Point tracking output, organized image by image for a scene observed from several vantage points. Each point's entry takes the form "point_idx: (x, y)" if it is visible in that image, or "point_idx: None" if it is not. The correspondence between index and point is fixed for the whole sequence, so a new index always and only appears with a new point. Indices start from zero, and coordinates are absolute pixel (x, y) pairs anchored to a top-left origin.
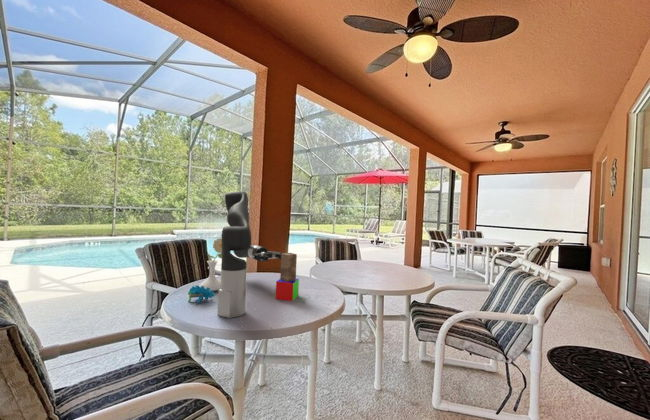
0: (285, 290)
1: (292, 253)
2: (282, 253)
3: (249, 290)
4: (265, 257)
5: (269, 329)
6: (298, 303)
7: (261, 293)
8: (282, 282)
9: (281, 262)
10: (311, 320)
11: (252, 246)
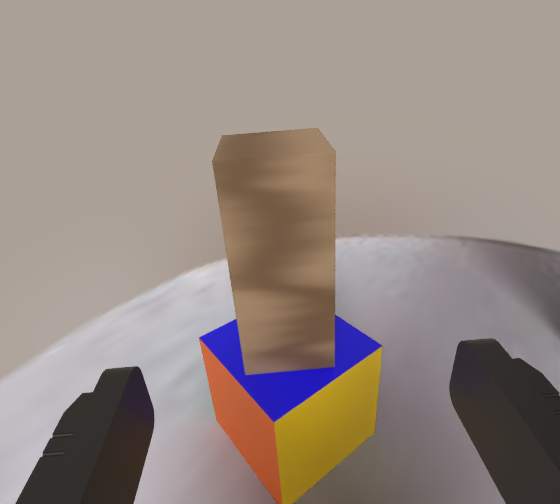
0: None
1: (225, 147)
2: (321, 151)
3: None
4: (518, 362)
5: (470, 240)
6: None
7: None
8: (345, 324)
9: (334, 235)
10: (341, 240)
11: None
